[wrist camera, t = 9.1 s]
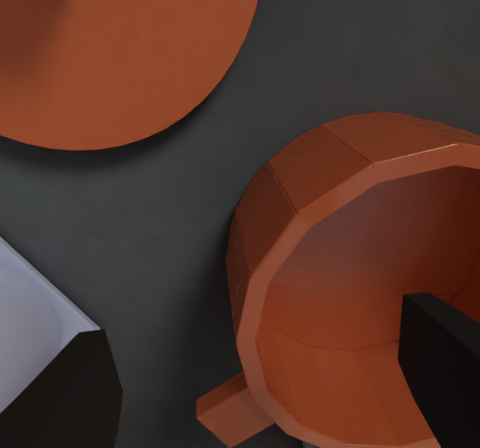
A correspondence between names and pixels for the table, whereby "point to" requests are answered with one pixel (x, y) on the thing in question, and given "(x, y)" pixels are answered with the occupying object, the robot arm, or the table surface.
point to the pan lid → (111, 66)
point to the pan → (345, 278)
